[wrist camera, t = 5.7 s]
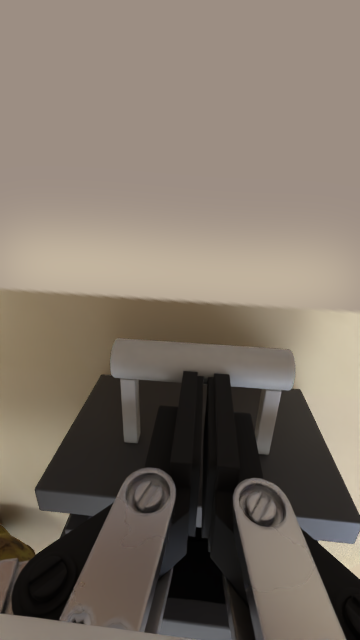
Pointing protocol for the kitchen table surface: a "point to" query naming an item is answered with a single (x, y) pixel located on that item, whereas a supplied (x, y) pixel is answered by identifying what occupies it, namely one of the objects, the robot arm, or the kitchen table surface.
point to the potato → (13, 547)
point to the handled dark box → (137, 427)
